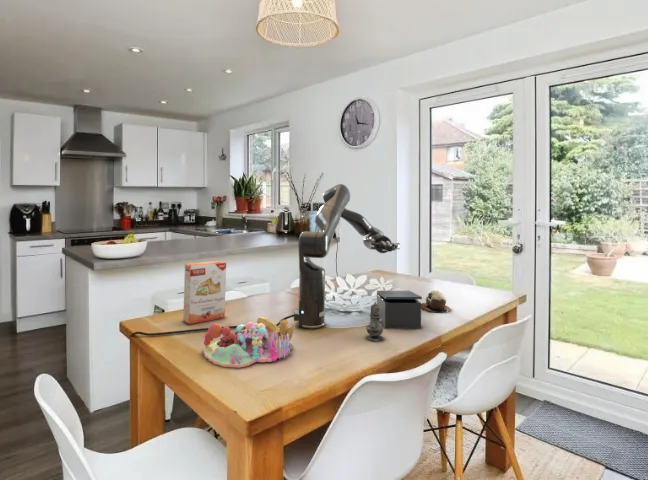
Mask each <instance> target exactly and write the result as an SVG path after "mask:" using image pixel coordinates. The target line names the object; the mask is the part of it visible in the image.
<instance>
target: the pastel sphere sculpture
mask: <svg viewBox="0 0 648 480" xmlns="http://www.w3.org/2000/svg"><path fill="white" fill-rule="evenodd" d="M281 320H282V319H281ZM279 321H280V320H279ZM276 324H277V323H274V322H272V321H271V320H270V319H269V318H267V317H265V316H259V317H258V318H257V320H256V321H253V320H250V321H248V322H247V323H246V324H238V325H236V326H237V328H235V330H234V333H233V332H232V330H231V328H229V327H225V326H222V325H221V324H219V323H215V322H214V323H212V324H210V325H209V327H207V328H208V330H207V332H206V333H205V334H204V340H203V345H204V348H203V356H204V358H206V359H208V361H209V362H212V364H214V365H217V366H220V367H223V368H240V369H241V368H246V367H249V366H250V365H253V364H254V363H266V362H267V363H271V362H276V361H277V360H278V359H279V360H281V359H286V356H287V357H288V355H290V353H291V350H292V349H293V348H294V345H293V342H290V341H291V340H292V337H293V335H294V334H295V333H294V332H295V327H296V326H289V320H288V319H286V320H282V321H280V325H278V326H276ZM222 327H224V328H223V329H222ZM221 336H222V337H221ZM218 338H220V339H219V340H217V341H214V342H212V341H213V340H214V339H218ZM211 342H212V343H211Z"/></svg>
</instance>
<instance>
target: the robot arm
mask: <svg viewBox="0 0 648 480" xmlns="http://www.w3.org/2000/svg"><path fill="white" fill-rule="evenodd" d="M322 199H323V201H324V204H323V205H322V206H320V208H319V210H318V212H317V214H316V216H315V225H316V227H317V229H318V230H319V231H302V232H301V233H300V234H299V237H298V241H297V242H298V243H297V245H298V246H297V247H298V249H297V250H298V274H299V275H298V277H299V279H298V309H293V314H290V315H288V316H285V317H283V318H281V319H280V320H279V321H278V322H277V323H275V324H276V326H277V327H279V325H280V321H282V320H288V319H291V318H293V322H297V324H298V325H297V326H298V328H304V329H308V330H309V329H311V330H313V329H314V330H315V329H320V328H323V327H324V326H326V325H325V323H326V322H325V320H326V319H325V316H326V314H327V313H326V310H325V307H326V270H325V268H324V267H322V266H320V265H318V264H316V263H314V262H313V261H312V260H311V259H323V258H326V257H327V256H328V254H329V252H330V250H331V246H332V242H333V238H334V234H335V232H336V230H337V228H338V225H339V223H340V220H341V219H343V220H344V221H346V223H348V224H349V225H350V226H351V227H352V228H353V229H354V230H355V231H356V232H357V234H358V235H360V236H361V237H363V240H362V243H363V245H364V247H366V248H367V249H369V250H371V251H374V250H375V251H376V252H378V253H380V254H386V253H389V252H394V251H397V250H400V248H401V244H400V242H395V243H394V242H392V240H391V239H390V238H389V237H388V236H386V235H385V234H384V232H383V231H382V230H380V229H379V228H378V227H375V226H373V224H371V223H370V222H369V221H368V220H367V218H366V217H365V216H363V215H362V214H361V213H359V212H356V211H354V210H350V209H347V208H346V206H347V205H348V204H349V202H350V201H351V192H350V189H349V188H348V187H347V186H346V185H345V184H344V183H343V184H342V183H338V184H336V185H334V186H332V187H330V188H329V189H327V190H325V191H324V192H323V194H322ZM237 326H238V325H225V326H221V327H222V329H223V328H224V327H229V328H230V329H236V328H237ZM208 328H209V327H202V328H201V327H200V328H192V329H183V330H173V331H172V330H171V331H163V332H143V331H134V332H133V333H131V334H130V335H129V337H134V336H135V335H143V336H146V337H147V336H163V335H172V334H173V335H174V334H182V333H183V334H184V333H193V332H200V331H202V332H203V331H208Z"/></svg>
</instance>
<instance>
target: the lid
mask: <svg viewBox="0 0 648 480" xmlns="http://www.w3.org/2000/svg"><path fill="white" fill-rule="evenodd" d="M377 293H378V294H379V295H381V296H382V297H384V298H385V299H417V300H423V297H422V296H421V295H419V294H417V293H415V292H413V291H411V290H376V294H377Z"/></svg>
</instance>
